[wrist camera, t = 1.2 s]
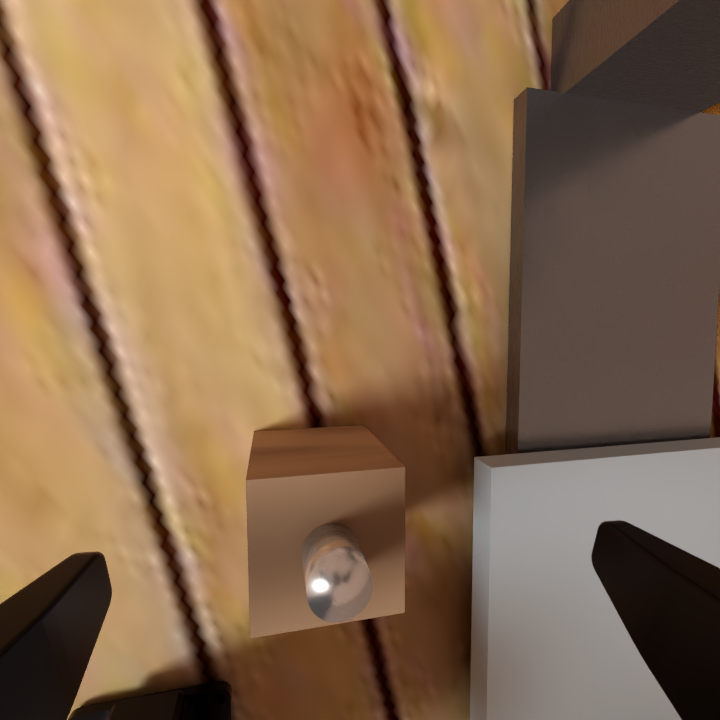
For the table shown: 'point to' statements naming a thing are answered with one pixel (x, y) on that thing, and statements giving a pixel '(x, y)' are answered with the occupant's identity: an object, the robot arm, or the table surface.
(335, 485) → the housing
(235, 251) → the table surface
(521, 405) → the press frame
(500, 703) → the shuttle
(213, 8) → the table surface
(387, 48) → the table surface
